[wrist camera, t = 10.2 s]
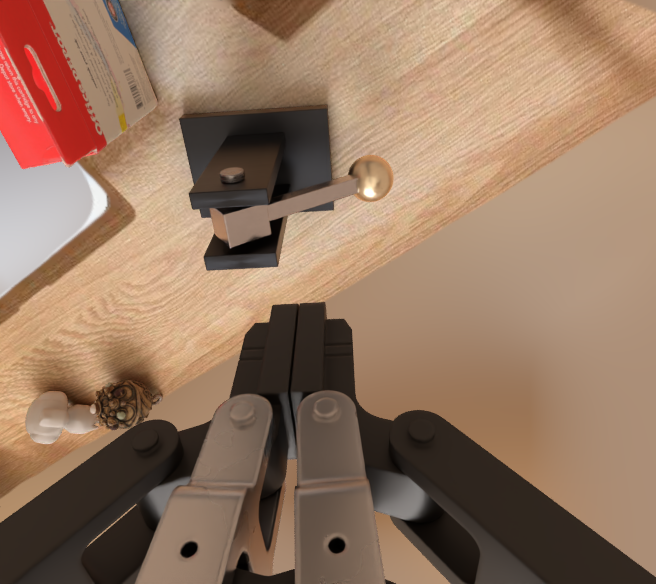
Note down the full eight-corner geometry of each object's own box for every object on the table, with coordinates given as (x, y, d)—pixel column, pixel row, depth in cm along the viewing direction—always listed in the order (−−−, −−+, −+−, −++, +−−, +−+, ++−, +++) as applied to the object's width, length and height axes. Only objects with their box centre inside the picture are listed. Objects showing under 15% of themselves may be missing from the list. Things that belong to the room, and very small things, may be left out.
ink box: (44, -7, 33) (-130, 2, 20) (112, -25, 32) (-26, -27, 20) (102, 121, 37) (-12, 191, 25) (162, 107, 37) (76, 172, 24)
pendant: (74, 405, 50) (91, 372, 48) (143, 394, 56) (161, 365, 54) (90, 446, 47) (109, 414, 45) (161, 430, 53) (180, 401, 51)
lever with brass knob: (374, 146, 35) (403, 156, 33) (374, 188, 37) (402, 200, 34) (203, 192, 29) (224, 208, 27) (213, 240, 31) (234, 258, 29)
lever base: (327, 104, 36) (324, 157, 26) (333, 204, 41) (334, 285, 30) (183, 114, 37) (121, 170, 26) (204, 211, 41) (159, 294, 30)
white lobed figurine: (20, 439, 52) (100, 444, 56) (17, 445, 47) (106, 450, 50) (33, 388, 54) (110, 396, 57) (32, 388, 48) (117, 396, 52)
